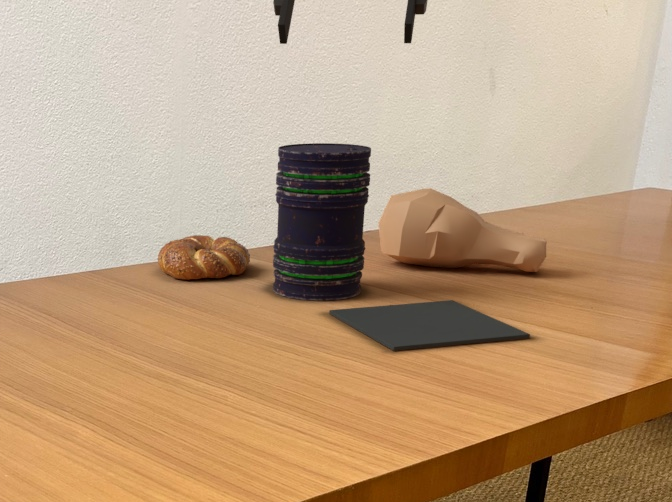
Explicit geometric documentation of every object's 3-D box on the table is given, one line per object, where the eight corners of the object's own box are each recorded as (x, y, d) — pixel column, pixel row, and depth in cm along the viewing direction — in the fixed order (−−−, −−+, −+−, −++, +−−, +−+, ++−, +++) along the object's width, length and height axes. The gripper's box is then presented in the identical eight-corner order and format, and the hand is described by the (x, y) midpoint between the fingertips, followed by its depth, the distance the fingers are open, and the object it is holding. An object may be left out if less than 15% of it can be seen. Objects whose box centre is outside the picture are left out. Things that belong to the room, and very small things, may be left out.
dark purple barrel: (274, 300, 112) (279, 153, 106) (269, 280, 121) (273, 143, 114) (368, 300, 111) (379, 152, 105) (356, 280, 120) (365, 142, 114)
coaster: (529, 338, 98) (530, 334, 98) (393, 351, 94) (393, 346, 94) (452, 303, 110) (452, 300, 110) (329, 313, 107) (329, 310, 106)
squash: (380, 255, 134) (398, 182, 132) (539, 289, 128) (561, 213, 125) (361, 256, 125) (380, 178, 122) (531, 292, 118) (555, 211, 115)
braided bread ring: (212, 286, 118) (212, 253, 116) (136, 274, 124) (135, 243, 122) (268, 268, 127) (269, 237, 125) (194, 258, 133) (195, 228, 131)
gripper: (477, -86, 121) (460, 59, 115) (264, -79, 128) (236, 59, 121) (483, -146, 114) (464, 5, 108) (257, -136, 121) (227, 8, 114)
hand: (344, 34), depth 114 cm, fingers open, 13 cm apart
